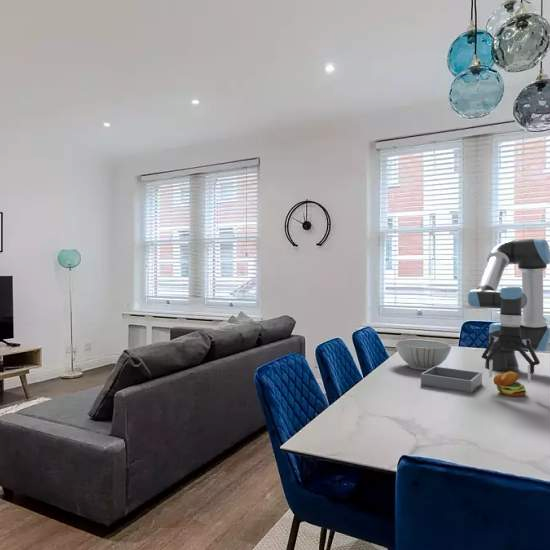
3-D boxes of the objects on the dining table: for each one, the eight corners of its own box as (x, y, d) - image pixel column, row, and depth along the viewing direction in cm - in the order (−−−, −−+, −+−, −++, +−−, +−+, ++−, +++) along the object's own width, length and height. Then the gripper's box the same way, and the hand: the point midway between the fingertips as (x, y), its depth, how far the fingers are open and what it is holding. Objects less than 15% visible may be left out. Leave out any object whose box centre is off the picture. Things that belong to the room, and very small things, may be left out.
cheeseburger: (531, 398, 169) (525, 372, 169) (502, 403, 171) (496, 377, 172) (522, 390, 179) (516, 366, 179) (494, 395, 181) (488, 371, 181)
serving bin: (434, 377, 202) (434, 366, 202) (481, 384, 190) (481, 372, 190) (420, 385, 187) (420, 373, 187) (471, 393, 175) (471, 381, 175)
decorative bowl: (423, 375, 204) (423, 349, 204) (383, 364, 228) (384, 341, 228) (463, 370, 217) (463, 345, 217) (421, 360, 241) (422, 338, 240)
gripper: (474, 323, 179) (473, 376, 179) (546, 329, 165) (545, 386, 165) (478, 322, 186) (477, 373, 185) (548, 327, 171) (547, 382, 171)
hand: (509, 379), depth 175 cm, fingers open, 13 cm apart
